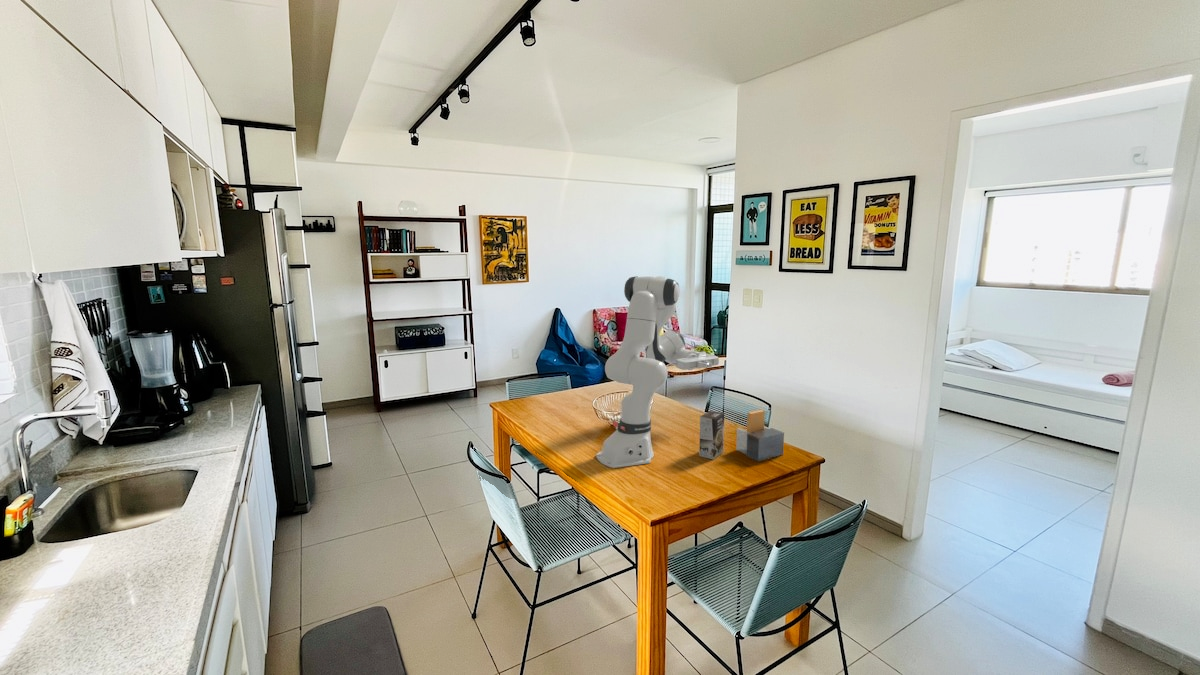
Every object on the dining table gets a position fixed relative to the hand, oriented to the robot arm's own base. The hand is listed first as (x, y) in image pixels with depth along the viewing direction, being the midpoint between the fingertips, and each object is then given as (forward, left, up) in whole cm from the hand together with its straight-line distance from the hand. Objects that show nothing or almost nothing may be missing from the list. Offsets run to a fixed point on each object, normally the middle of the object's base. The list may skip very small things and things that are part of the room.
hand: (709, 365), depth 209 cm
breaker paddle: (+3, -25, -24) cm, 35 cm away
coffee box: (-14, -19, -30) cm, 38 cm away
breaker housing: (+3, -27, -30) cm, 41 cm away
